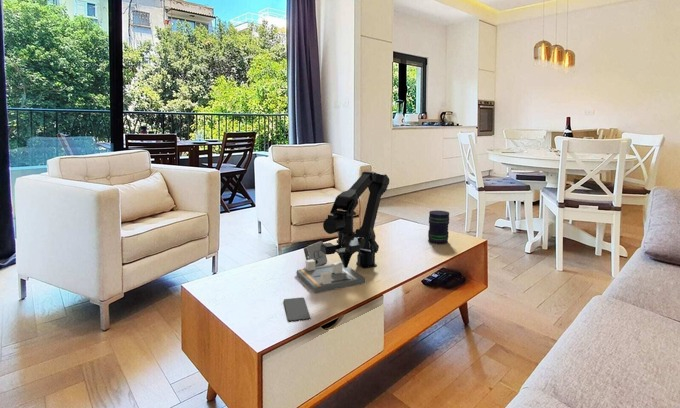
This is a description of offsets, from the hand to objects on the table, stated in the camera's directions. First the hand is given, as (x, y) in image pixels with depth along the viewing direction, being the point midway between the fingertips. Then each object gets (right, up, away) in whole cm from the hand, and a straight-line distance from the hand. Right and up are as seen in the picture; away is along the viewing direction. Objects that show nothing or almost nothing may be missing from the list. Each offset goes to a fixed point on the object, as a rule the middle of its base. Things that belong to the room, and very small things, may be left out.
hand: (345, 267), depth 152 cm
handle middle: (-3, -2, -1) cm, 4 cm away
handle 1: (-14, -1, +2) cm, 14 cm away
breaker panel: (-6, -4, -2) cm, 7 cm away
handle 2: (-7, -4, -11) cm, 14 cm away
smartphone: (-16, -10, -27) cm, 33 cm away
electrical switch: (-13, -1, +14) cm, 19 cm away
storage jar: (+47, +5, +46) cm, 66 cm away
